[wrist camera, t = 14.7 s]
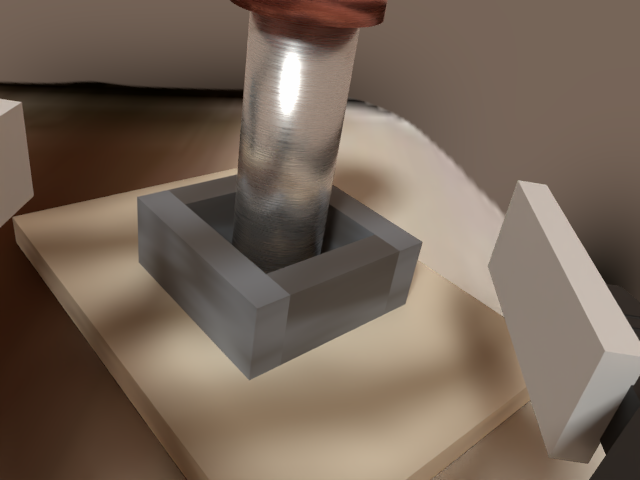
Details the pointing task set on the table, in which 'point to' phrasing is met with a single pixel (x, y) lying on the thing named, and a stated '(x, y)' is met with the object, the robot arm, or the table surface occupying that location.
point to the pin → (293, 122)
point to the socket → (277, 337)
